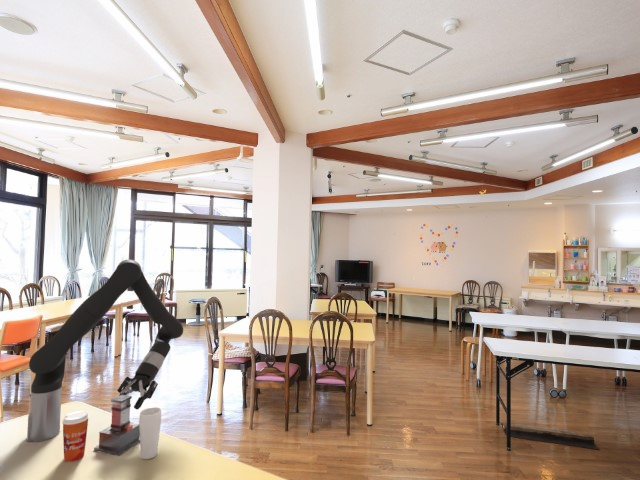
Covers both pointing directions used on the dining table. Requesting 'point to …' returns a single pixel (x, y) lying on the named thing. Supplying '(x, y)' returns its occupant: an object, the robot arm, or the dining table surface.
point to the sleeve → (118, 440)
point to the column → (120, 412)
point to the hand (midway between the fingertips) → (126, 406)
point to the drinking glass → (149, 432)
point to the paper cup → (75, 435)
